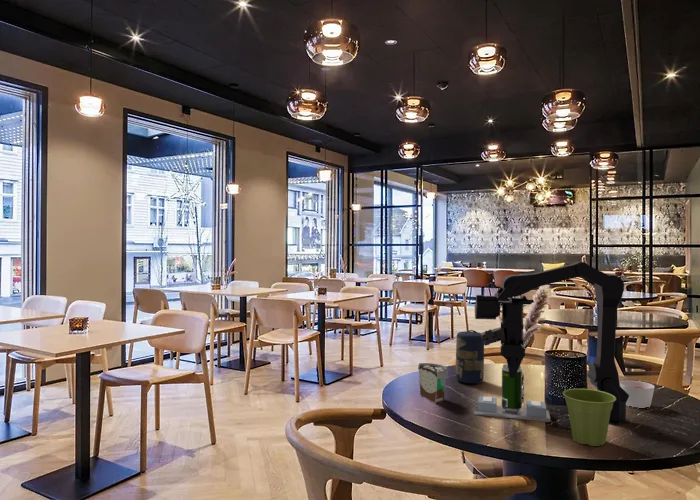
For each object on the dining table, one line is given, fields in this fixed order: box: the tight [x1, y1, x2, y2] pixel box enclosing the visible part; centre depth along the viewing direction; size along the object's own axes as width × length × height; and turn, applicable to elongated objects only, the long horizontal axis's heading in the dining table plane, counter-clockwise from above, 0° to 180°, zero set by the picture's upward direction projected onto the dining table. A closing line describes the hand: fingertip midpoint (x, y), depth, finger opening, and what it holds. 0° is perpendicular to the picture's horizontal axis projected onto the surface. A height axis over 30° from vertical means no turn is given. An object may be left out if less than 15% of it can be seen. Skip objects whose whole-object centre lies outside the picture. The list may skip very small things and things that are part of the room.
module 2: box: [525, 399, 547, 417], centre depth 143 cm, size 5×6×3 cm
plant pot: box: [562, 388, 616, 447], centre depth 125 cm, size 12×12×11 cm
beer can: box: [501, 363, 523, 411], centre depth 144 cm, size 5×5×12 cm
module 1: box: [477, 395, 498, 412], centre depth 146 cm, size 5×6×3 cm
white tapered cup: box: [619, 380, 655, 409], centre depth 154 cm, size 9×9×6 cm
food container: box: [417, 362, 449, 405], centre depth 158 cm, size 12×6×10 cm, turn 22°
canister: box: [455, 329, 485, 384], centre depth 179 cm, size 10×10×18 cm
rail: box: [473, 403, 551, 423], centre depth 144 cm, size 20×7×1 cm, turn 73°
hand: (512, 375), depth 144 cm, fingers open, 5 cm apart
